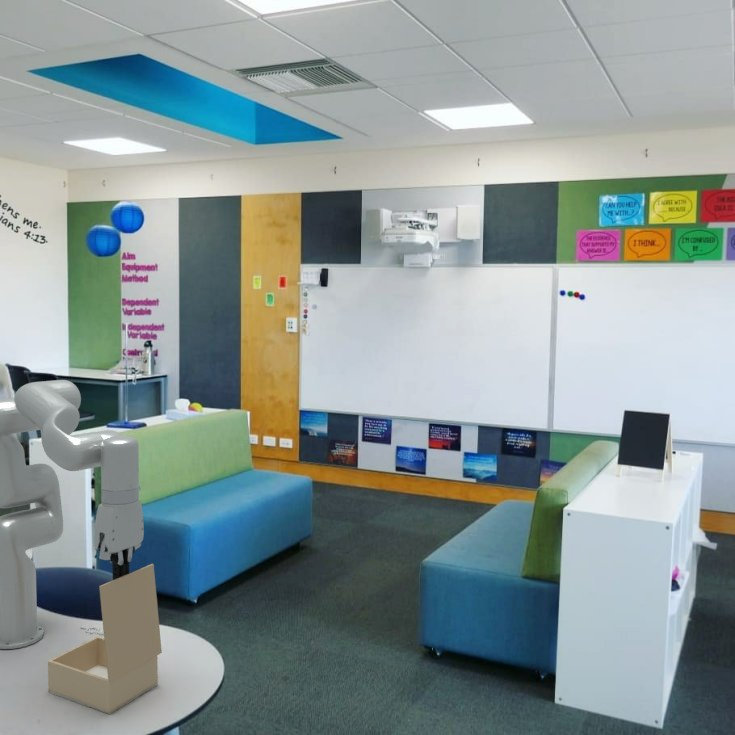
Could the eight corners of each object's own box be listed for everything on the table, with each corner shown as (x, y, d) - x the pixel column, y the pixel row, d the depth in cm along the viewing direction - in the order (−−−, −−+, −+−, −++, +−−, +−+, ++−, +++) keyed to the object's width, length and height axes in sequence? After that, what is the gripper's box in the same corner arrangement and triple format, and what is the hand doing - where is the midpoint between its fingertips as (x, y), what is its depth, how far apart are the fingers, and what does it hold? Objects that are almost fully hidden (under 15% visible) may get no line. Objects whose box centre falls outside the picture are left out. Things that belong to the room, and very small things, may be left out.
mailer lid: (99, 586, 158) (101, 586, 158) (151, 563, 171) (153, 564, 171) (108, 681, 159) (110, 682, 158) (160, 652, 172) (161, 652, 172)
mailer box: (48, 692, 168) (47, 661, 168) (98, 665, 181) (98, 636, 180) (109, 714, 160) (109, 681, 159) (157, 684, 172) (157, 654, 172)
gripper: (133, 485, 172) (133, 566, 174) (79, 501, 159) (80, 588, 160) (158, 490, 168) (159, 573, 170) (106, 506, 155) (107, 595, 157)
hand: (121, 580), depth 165 cm, fingers closed
